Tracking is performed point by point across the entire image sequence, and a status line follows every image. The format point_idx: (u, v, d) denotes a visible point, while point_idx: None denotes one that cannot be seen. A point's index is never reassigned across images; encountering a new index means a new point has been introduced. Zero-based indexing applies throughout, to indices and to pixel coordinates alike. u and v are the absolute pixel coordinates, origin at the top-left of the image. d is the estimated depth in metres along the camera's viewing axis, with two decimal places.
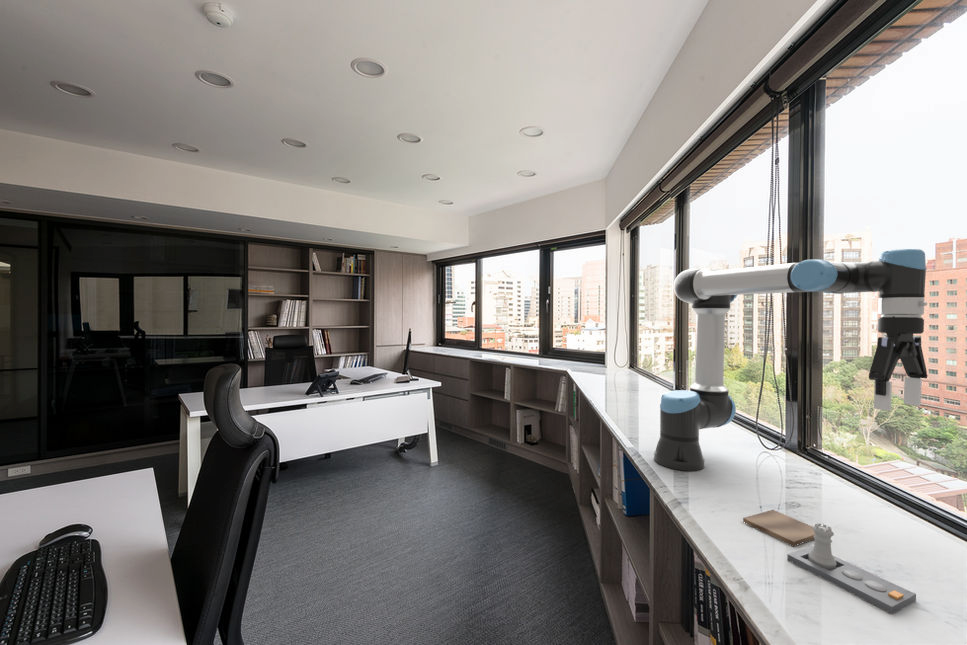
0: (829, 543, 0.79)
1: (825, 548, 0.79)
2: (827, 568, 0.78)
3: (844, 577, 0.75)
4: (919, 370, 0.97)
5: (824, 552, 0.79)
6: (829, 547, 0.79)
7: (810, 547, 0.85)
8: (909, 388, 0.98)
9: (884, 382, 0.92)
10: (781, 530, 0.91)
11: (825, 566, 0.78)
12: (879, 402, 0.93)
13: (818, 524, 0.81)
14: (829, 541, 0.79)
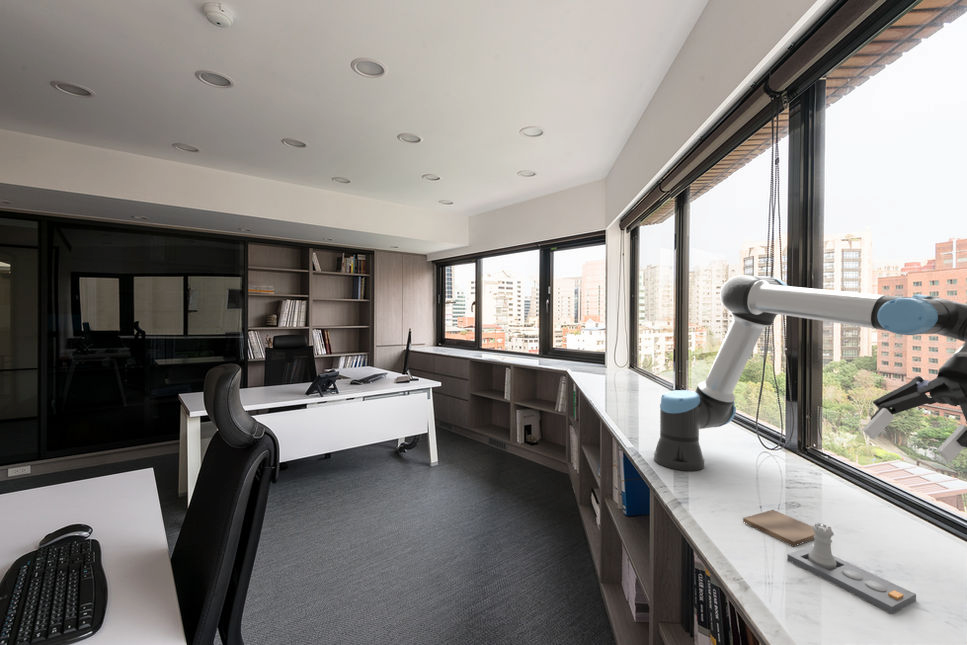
0: (829, 543, 0.79)
1: (825, 548, 0.79)
2: (827, 568, 0.78)
3: (844, 577, 0.75)
4: None
5: (824, 552, 0.79)
6: (829, 547, 0.79)
7: (810, 547, 0.85)
8: (881, 420, 0.87)
9: None
10: (781, 530, 0.91)
11: (825, 566, 0.78)
12: (950, 449, 0.73)
13: (818, 524, 0.81)
14: (829, 541, 0.79)
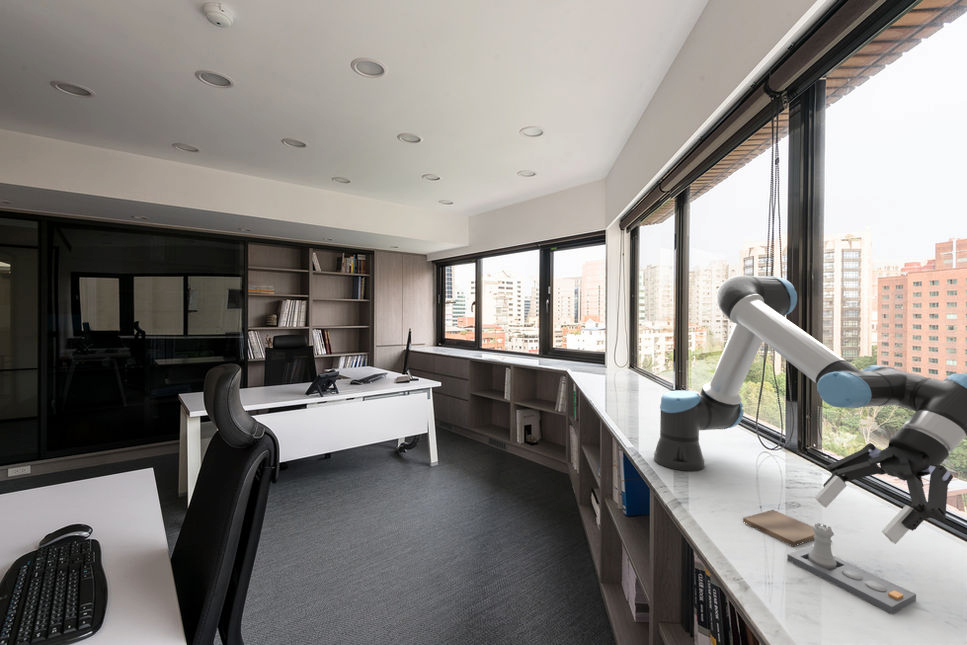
0: (829, 543, 0.79)
1: (825, 548, 0.79)
2: (827, 568, 0.78)
3: (844, 577, 0.75)
4: None
5: (824, 552, 0.79)
6: (829, 547, 0.79)
7: (810, 547, 0.85)
8: (833, 488, 0.85)
9: None
10: (781, 530, 0.91)
11: (825, 566, 0.78)
12: (895, 531, 0.72)
13: (818, 524, 0.81)
14: (829, 541, 0.79)
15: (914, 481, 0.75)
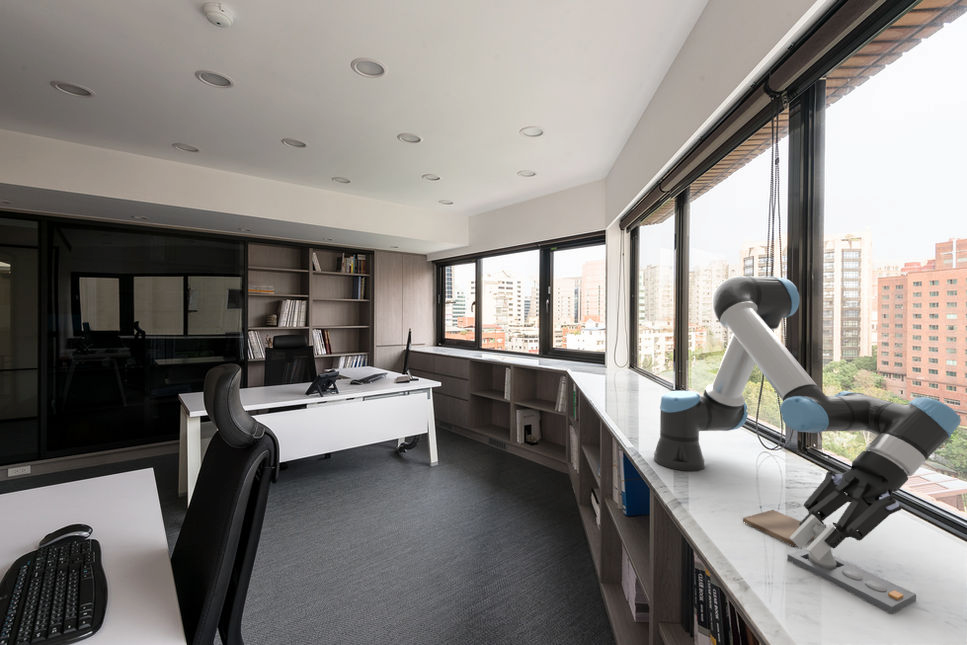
0: None
1: None
2: (827, 568, 0.78)
3: (844, 577, 0.75)
4: None
5: None
6: None
7: None
8: (808, 528, 0.81)
9: None
10: (781, 530, 0.91)
11: (825, 566, 0.78)
12: (818, 548, 0.77)
13: (818, 524, 0.81)
14: None
15: (856, 505, 0.77)
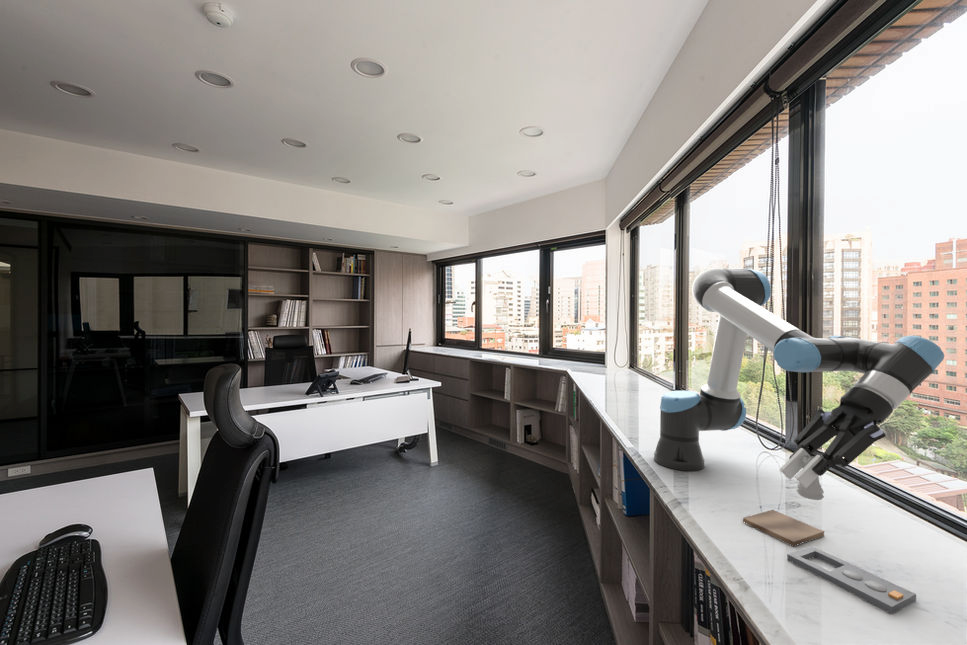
0: None
1: None
2: (814, 495, 0.82)
3: (844, 577, 0.75)
4: None
5: None
6: None
7: (810, 547, 0.85)
8: (798, 460, 0.86)
9: None
10: (781, 530, 0.91)
11: (813, 494, 0.82)
12: (806, 476, 0.82)
13: (807, 456, 0.85)
14: None
15: (842, 435, 0.82)
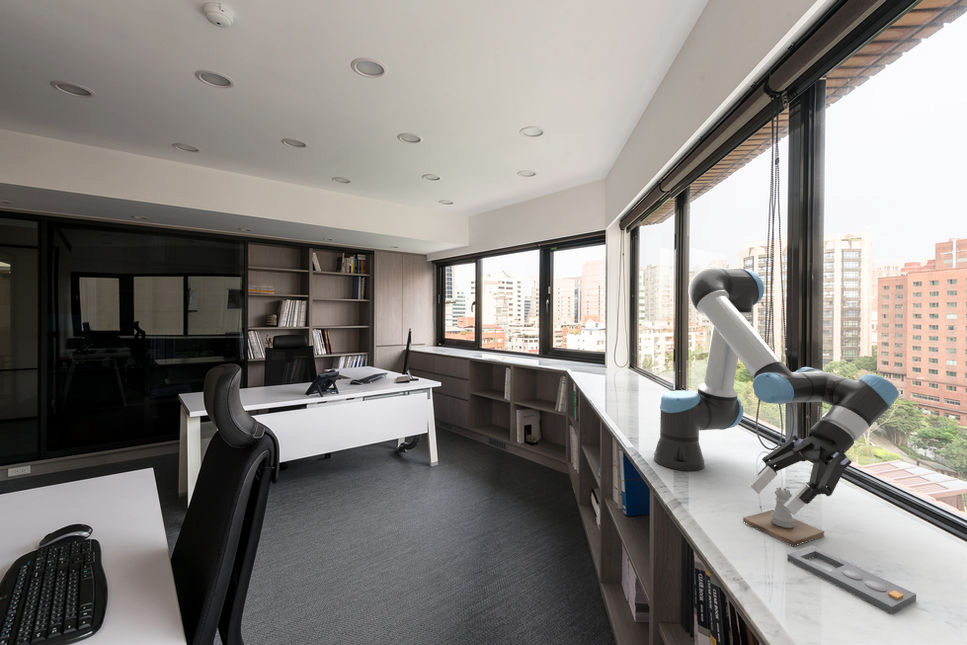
0: None
1: (784, 507, 0.93)
2: (786, 524, 0.92)
3: (844, 577, 0.75)
4: None
5: (784, 511, 0.93)
6: None
7: (810, 547, 0.85)
8: (765, 477, 0.99)
9: None
10: (781, 530, 0.91)
11: (784, 522, 0.92)
12: (794, 504, 0.88)
13: (779, 488, 0.95)
14: None
15: (818, 464, 0.90)
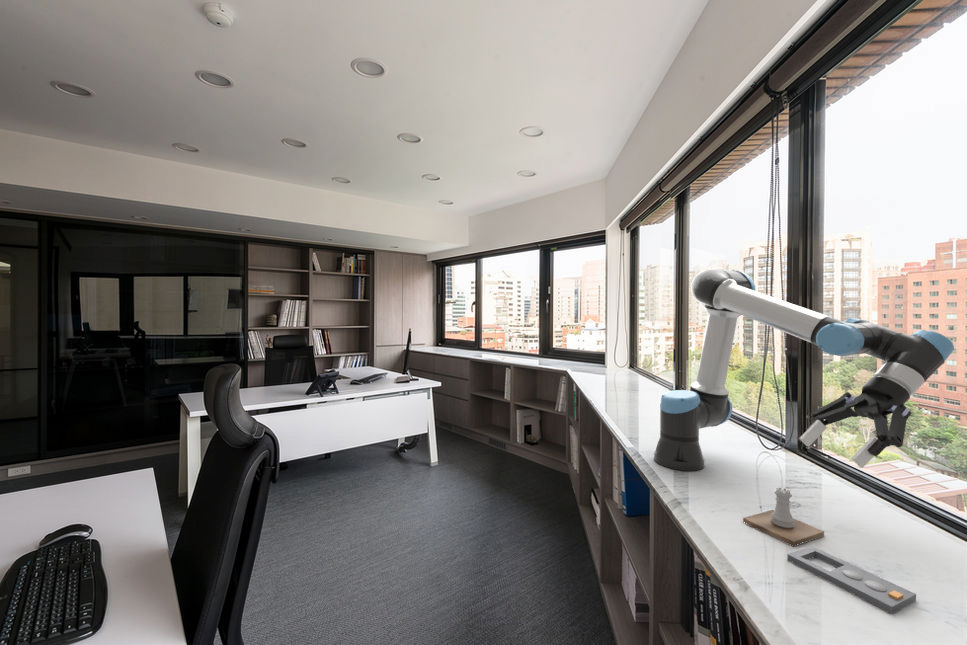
0: (788, 504, 0.93)
1: (784, 508, 0.93)
2: (786, 524, 0.92)
3: (844, 577, 0.75)
4: None
5: (784, 511, 0.93)
6: (788, 507, 0.93)
7: (810, 547, 0.85)
8: (814, 430, 1.01)
9: None
10: (781, 530, 0.91)
11: (784, 523, 0.92)
12: (862, 457, 0.87)
13: (779, 488, 0.95)
14: (788, 502, 0.93)
15: (879, 418, 0.90)
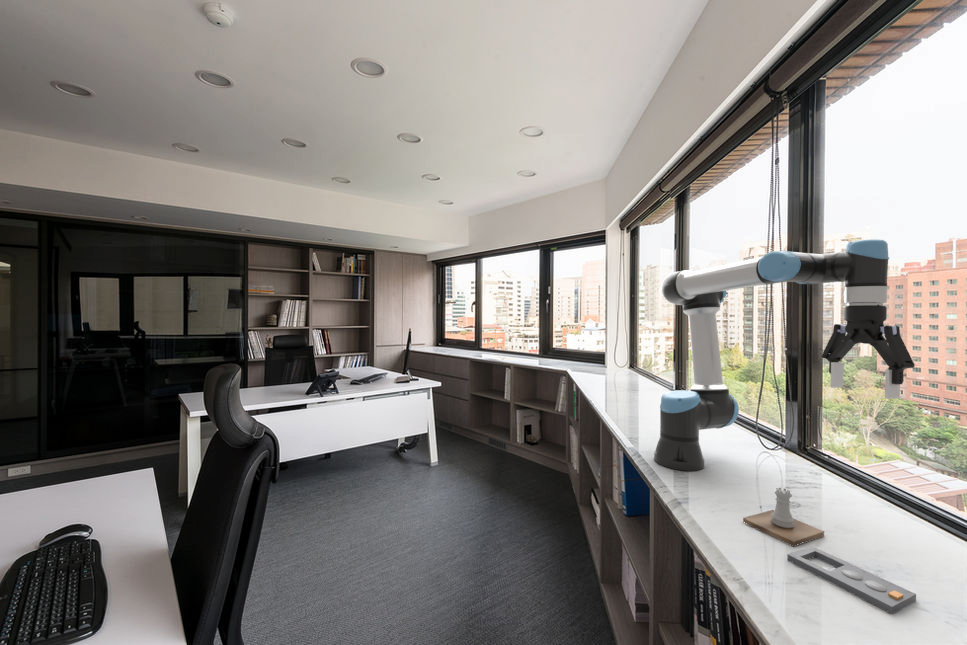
0: (788, 504, 0.93)
1: (784, 508, 0.93)
2: (786, 524, 0.92)
3: (844, 577, 0.75)
4: None
5: (784, 511, 0.93)
6: (788, 507, 0.93)
7: (810, 547, 0.85)
8: (836, 372, 1.05)
9: None
10: (781, 530, 0.91)
11: (784, 523, 0.92)
12: (892, 391, 0.92)
13: (779, 488, 0.95)
14: (788, 502, 0.93)
15: (879, 346, 0.94)
